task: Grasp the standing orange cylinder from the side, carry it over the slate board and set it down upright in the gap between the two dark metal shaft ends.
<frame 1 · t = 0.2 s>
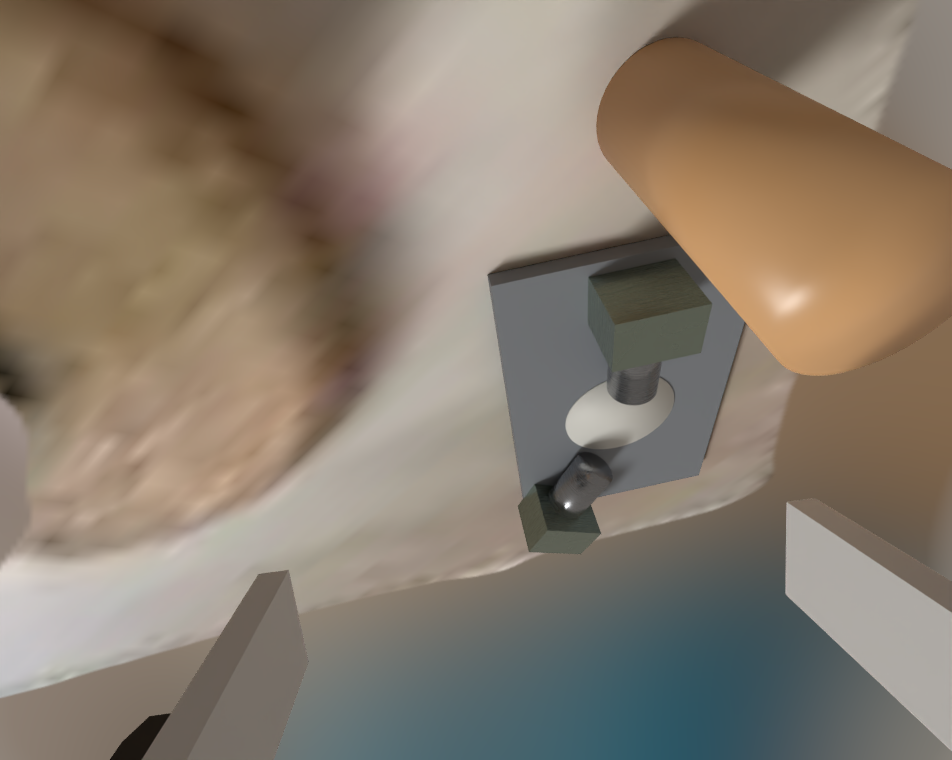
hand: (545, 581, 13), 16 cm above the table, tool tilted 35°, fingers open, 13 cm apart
shaft a: (620, 315, 28), resting on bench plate
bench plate: (614, 392, 33), on the table
orange cylinder: (658, 112, 21), on the table
shaft b: (614, 402, 34), resting on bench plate
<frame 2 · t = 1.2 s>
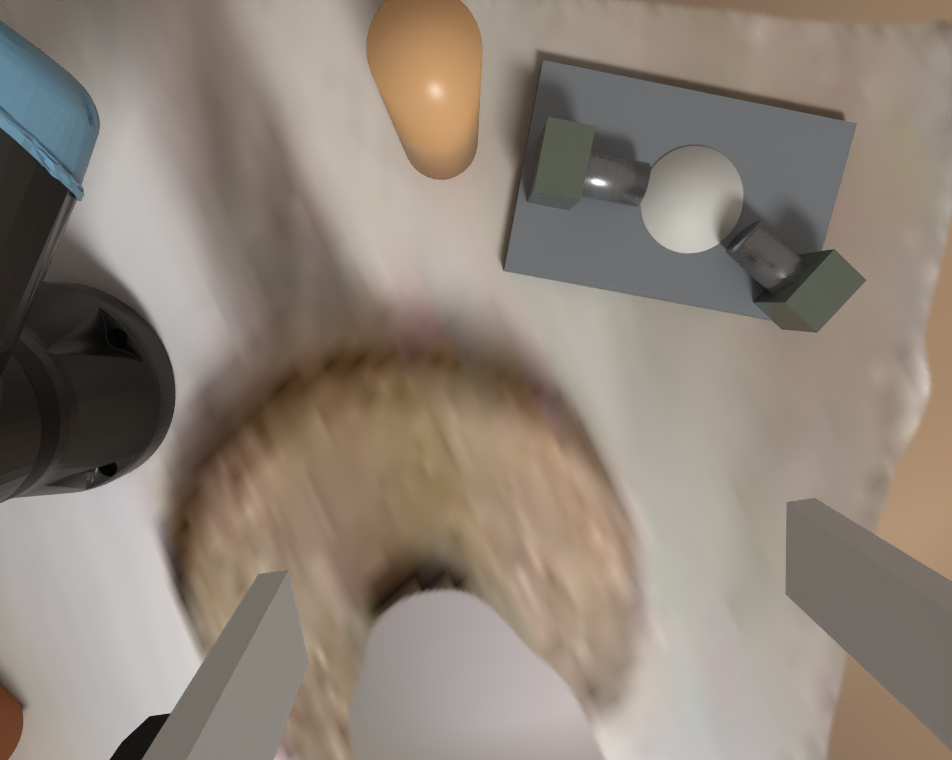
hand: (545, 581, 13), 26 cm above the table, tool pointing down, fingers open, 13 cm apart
shaft a: (583, 183, 36), resting on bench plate
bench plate: (671, 200, 36), on the table
orange cylinder: (440, 140, 36), on the table
shaft b: (685, 203, 36), resting on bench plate
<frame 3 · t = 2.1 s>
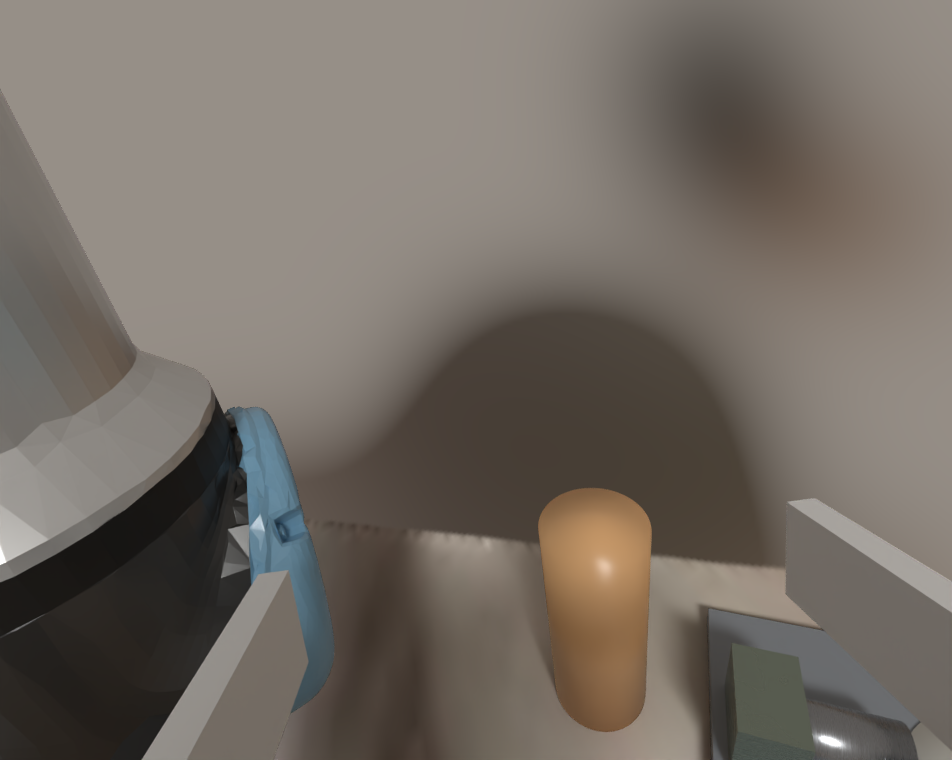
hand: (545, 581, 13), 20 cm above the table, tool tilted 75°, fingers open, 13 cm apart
shaft a: (808, 758, 26), resting on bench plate
orange cylinder: (599, 684, 30), on the table
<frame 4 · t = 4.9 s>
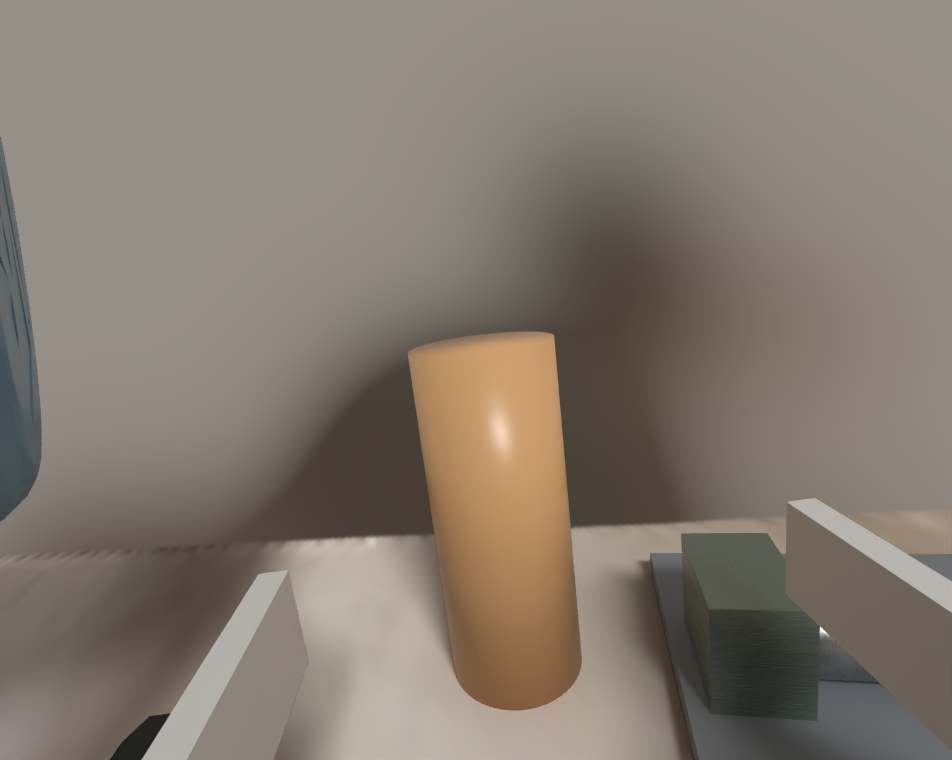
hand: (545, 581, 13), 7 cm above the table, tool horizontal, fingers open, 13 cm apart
shaft a: (814, 691, 18), resting on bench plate
orange cylinder: (517, 656, 21), on the table
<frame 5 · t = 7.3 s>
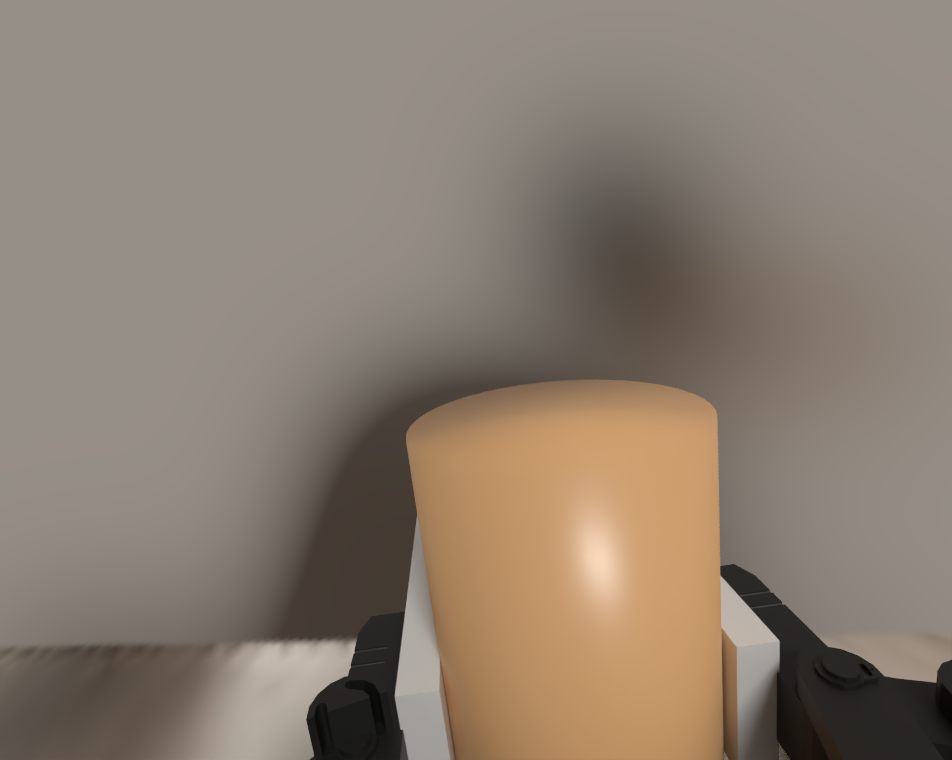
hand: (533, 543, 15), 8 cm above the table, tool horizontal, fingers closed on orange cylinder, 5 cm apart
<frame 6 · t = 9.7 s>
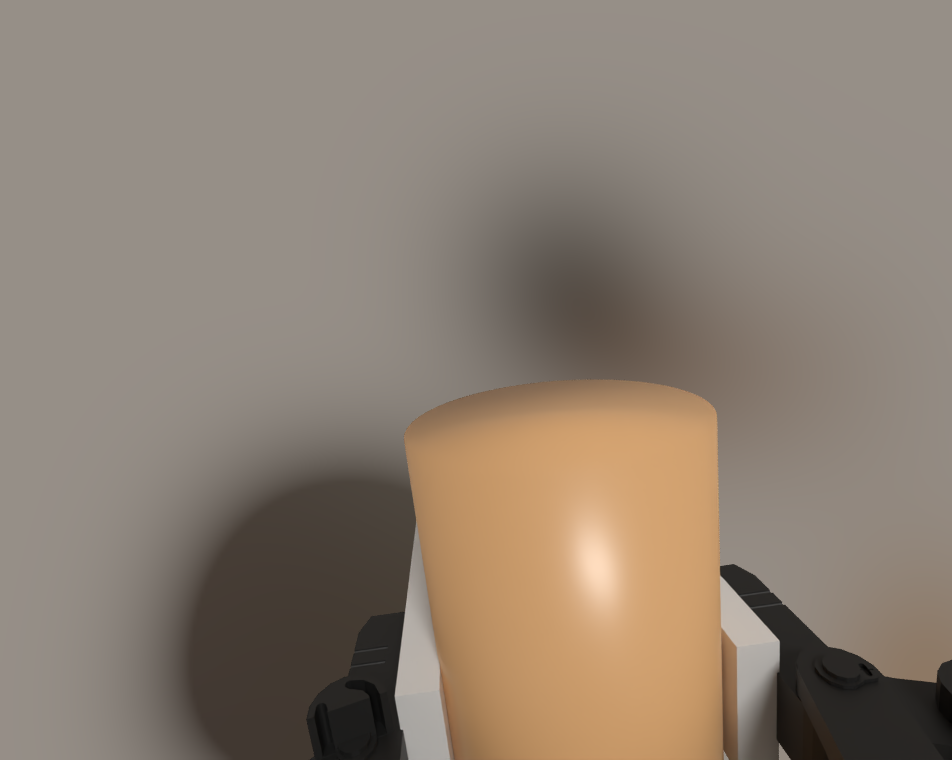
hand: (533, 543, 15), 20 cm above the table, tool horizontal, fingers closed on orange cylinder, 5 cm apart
when the fingers open (10 cm above the table, at t = 11.9 s): orange cylinder drops 1 cm, resting on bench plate.
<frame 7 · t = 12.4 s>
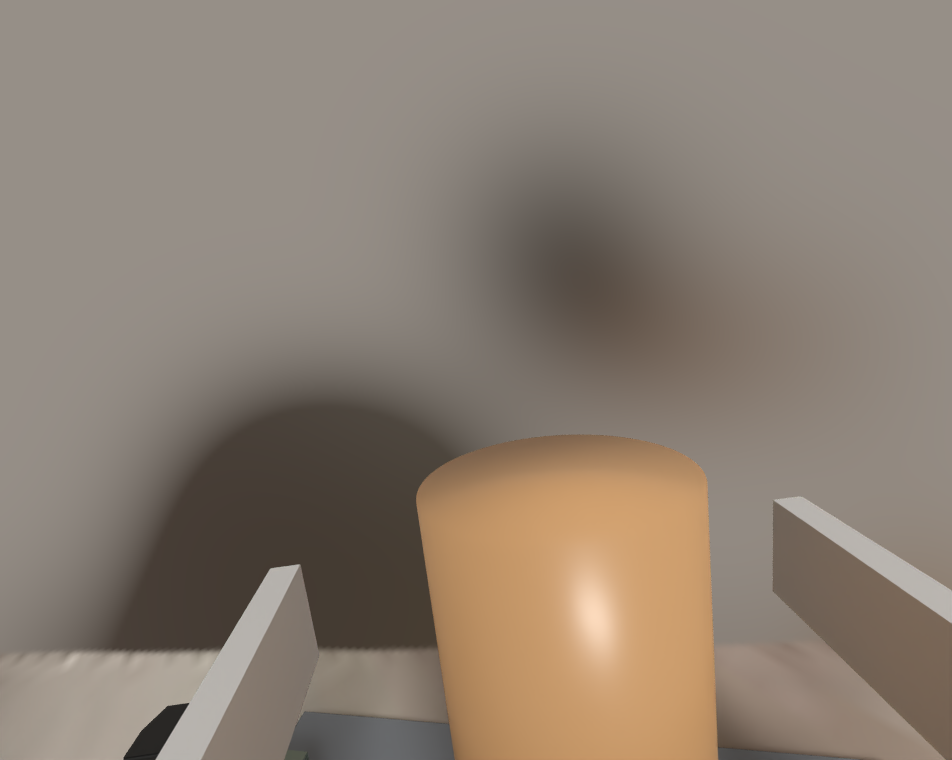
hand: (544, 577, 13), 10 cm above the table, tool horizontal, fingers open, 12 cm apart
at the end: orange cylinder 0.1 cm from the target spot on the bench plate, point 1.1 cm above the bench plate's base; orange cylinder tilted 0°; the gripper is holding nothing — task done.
